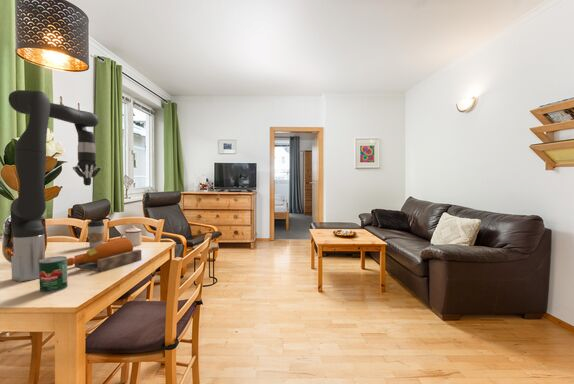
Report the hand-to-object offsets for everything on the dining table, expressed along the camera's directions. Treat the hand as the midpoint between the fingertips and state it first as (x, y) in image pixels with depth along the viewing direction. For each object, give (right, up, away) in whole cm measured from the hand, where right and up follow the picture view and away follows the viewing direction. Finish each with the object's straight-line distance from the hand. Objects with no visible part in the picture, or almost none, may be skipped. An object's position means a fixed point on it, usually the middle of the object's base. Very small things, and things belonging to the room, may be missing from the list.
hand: (87, 185), depth 143 cm
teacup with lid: (+8, -36, +26) cm, 45 cm away
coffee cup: (-10, -36, +21) cm, 43 cm away
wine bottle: (+23, -32, -2) cm, 39 cm away
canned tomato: (+18, -39, -42) cm, 60 cm away
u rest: (+18, -38, -11) cm, 43 cm away
